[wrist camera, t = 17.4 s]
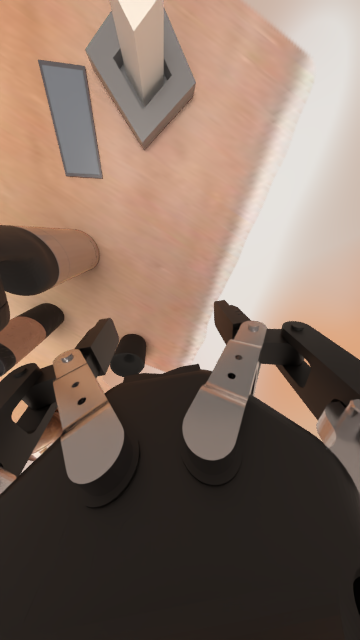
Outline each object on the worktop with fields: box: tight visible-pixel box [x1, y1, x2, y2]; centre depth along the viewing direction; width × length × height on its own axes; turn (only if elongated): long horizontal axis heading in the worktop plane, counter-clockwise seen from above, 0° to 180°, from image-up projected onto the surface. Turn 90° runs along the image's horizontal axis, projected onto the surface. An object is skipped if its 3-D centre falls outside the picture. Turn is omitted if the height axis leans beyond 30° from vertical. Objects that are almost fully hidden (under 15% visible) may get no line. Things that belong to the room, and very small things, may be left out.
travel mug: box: [0, 303, 64, 377], centre depth 37 cm, size 8×8×20 cm
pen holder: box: [110, 334, 146, 377], centre depth 49 cm, size 9×9×10 cm
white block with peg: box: [109, 0, 164, 107], centre depth 21 cm, size 4×4×14 cm
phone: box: [38, 60, 103, 179], centre depth 29 cm, size 7×14×1 cm, turn 178°
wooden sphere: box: [28, 412, 63, 461], centre depth 60 cm, size 15×15×15 cm
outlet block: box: [85, 9, 196, 150], centre depth 26 cm, size 12×12×3 cm
